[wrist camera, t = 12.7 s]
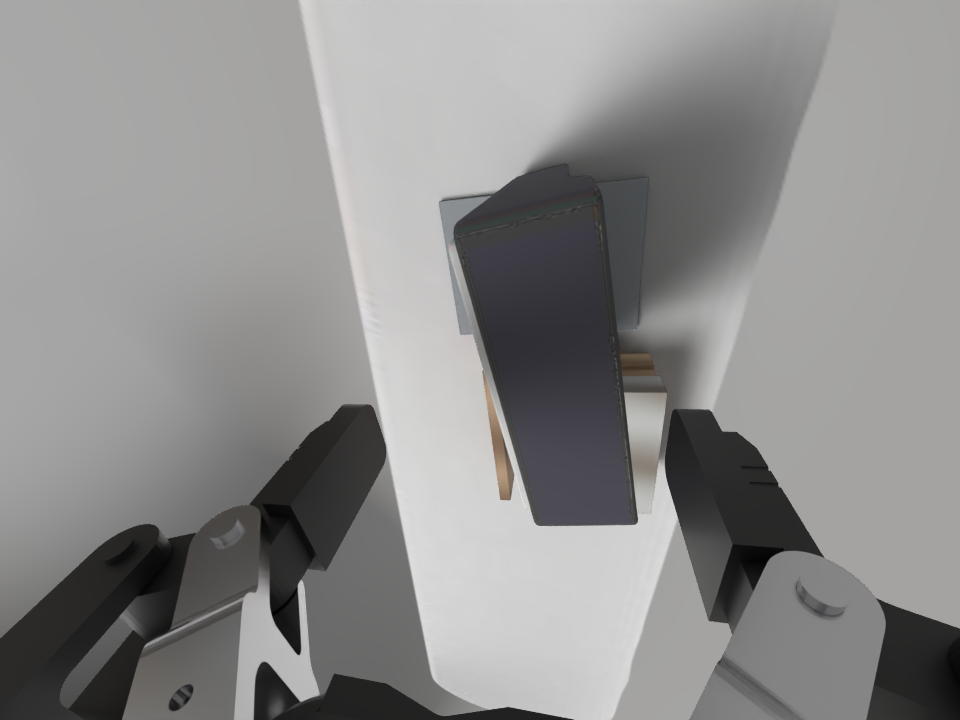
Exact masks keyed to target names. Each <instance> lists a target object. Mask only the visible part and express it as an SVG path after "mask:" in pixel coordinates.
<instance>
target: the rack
mask: <svg viewBox="0 0 960 720" xmlns="http://www.w3.org/2000/svg"><path fill="white" fill-rule="evenodd" d="M483 379H484V386H485V393H486V400H487V407H488V414H489V421H490V429H491V436H492V443H493V450H494V457H495V464H496V472H497V479H498V486H499V493H500V500H511V494H512V487H513V480H514V471H513V468H512V465H511V461H510V458H509V454H508V451H507V448H506V444H505V441H504V437H503V434H502V431H501V427H500V424H499V421H498V417H497V414H496V410H495V407H494V404H493V400H492V397H491V394H490V390H489V387H488V383H487V380H486V377H485V373H484V370H483Z"/></svg>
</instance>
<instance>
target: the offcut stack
mask: <svg viewBox="0 0 960 720" xmlns="http://www.w3.org/2000/svg"><path fill="white" fill-rule="evenodd" d="M620 360H621V369H622V378H623V387H624V396H625V406H626V415H627V424H628V433H629V442H630V452H631V461H632V470H633V479H634V488H635V498H636V507H637V513H646V514H651V513H652V505H653V498H654V490H655V483H656V475H657V468H658V460H659V453H660V445H661V438H662V430H663V422H664V415H665V407H666V400H667V391H666V388H665V386H664V383H663V381H662V378H661V376H656V374H655V372H654V364H653V361H652V359H651V356H650V354H649V353H631V354H620Z"/></svg>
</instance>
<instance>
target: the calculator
mask: <svg viewBox="0 0 960 720" xmlns="http://www.w3.org/2000/svg"><path fill="white" fill-rule="evenodd" d="M453 236H454V238H453V239H452V240H451V241H450V243H449V254H450V258H451V262H452V265H453V269H454V272H455V275H456V279H457V282H458V285H459V289H460V292H461V296H462V299H463V302H464V306H465V309H466V312H467V316H468V319H469V323H470V326H471V329H472V333H473V336H474V339H475V343H476V346H477V350H478V353H479V356H480V360H481V363H482V367H483V370H484V373H485V377H486V380H487V383H488V387H489V390H490V394H491V397H492V400H493V404H494V407H495V410H496V414H497V417H498V421H499V424H500V427H501V431H502V434H503V437H504V441H505V444H506V448H507V451H508V454H509V458H510V461H511V465H512V468H513V471H514V475H515V478H516V481H517V485H518V488H519V492H520V495H521V498H522V501H523V504H524V507H525V508H526V509H531V512H532V515H533V519H534V522H535V523H536V525H538V526H586V525H635V524H636V523H637V522H638V516H637V507H636V498H635V488H634V479H633V470H632V461H631V452H630V442H629V433H628V424H627V415H626V406H625V396H624V387H623V378H622V369H621V360H620V351H619V341H618V332H617V323H616V314H615V305H614V295H613V286H612V277H611V268H610V259H609V249H608V240H607V231H606V222H605V213H604V204H603V198H602V193H601V190H600V189H599V187H598V186H597V185H596V183H595V182H594V181H593V179H592V178H591V177H590V176H579V177H572V178H570V175H569V169H568V165H567V164H561V165H558V166H554V167H550V168H547V169H543V170H540V171H536V172H532V173H529V174H526V175H522V176H519V177H516V178H515V179H514V180H512V181H511V182H510V183H508V184H507V185H506V186H504V187H503V188H502V189H500V190H499V191H498V192H496V193H495V194H494V195H492V196H491V197H490V198H488V199H487V200H486V201H484V202H483V203H482V204H480V205H479V206H478V207H476V208H475V209H474V210H472V211H471V212H470V213H468V214H467V215H466V216H464V217H463V218H462V219H460V220H459V221H458V222H457V223H456V224H455V226H454V230H453Z"/></svg>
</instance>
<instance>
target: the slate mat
mask: <svg viewBox="0 0 960 720" xmlns="http://www.w3.org/2000/svg"><path fill="white" fill-rule="evenodd" d="M648 182H649V178H648V177H646V178H637V179H628V180H620V181H611V182H602V183H596V185H597V186H598V187H599V189H600V190H601V193H602V198H603V204H604V213H605V222H606V231H607V240H608V249H609V259H610V268H611V277H612V286H613V295H614V305H615V314H616V323H617V330H622V329H637V321H638V308H639V296H640V283H641V270H642V258H643V245H644V233H645V220H646V208H647V195H648ZM491 196H492V195H490V196H481V197H472V198H463V199H455V200H446V201H440V202H439V207H440V213H441V219H442V226H443V232H444V238H445V244H446V250H447V256H448V262H449V268H450V275H451V281H452V287H453V293H454V299H455V305H456V311H457V317H458V324H459V330H460V335H466V334H473V333H472V329H471V326H470V323H469V319H468V316H467V312H466V309H465V306H464V302H463V299H462V296H461V292H460V289H459V285H458V282H457V279H456V275H455V272H454V269H453V265H452V262H451V258H450V254H449V243H450V241H451V240H452V239H453V238H454V236H453V230H454V226H455V224H456V223H457V222H458V221H459V220H460V219H462V218H463V217H464V216H466V215H467V214H468V213H470V212H471V211H472V210H474V209H475V208H476V207H478V206H479V205H480V204H482V203H483V202H484V201H486V200H487V199H488V198H490V197H491Z"/></svg>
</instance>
